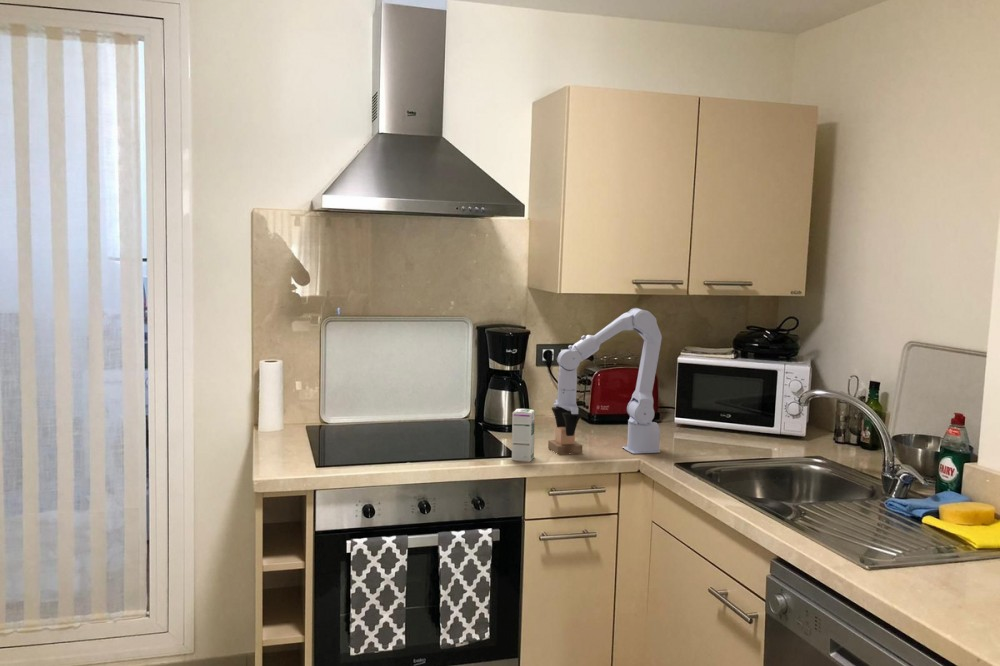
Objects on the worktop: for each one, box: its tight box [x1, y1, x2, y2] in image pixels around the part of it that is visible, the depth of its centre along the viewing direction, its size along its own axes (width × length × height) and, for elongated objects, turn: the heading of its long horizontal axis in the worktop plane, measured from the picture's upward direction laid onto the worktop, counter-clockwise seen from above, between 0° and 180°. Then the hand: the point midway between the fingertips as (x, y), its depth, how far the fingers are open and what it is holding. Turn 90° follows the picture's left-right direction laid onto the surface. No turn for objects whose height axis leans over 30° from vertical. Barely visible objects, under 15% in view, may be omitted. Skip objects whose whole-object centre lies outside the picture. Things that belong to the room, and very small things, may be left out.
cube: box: [554, 426, 576, 445], centre depth 256 cm, size 4×4×4 cm
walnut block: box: [547, 439, 583, 455], centre depth 256 cm, size 8×8×3 cm
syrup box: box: [511, 408, 536, 463], centre depth 244 cm, size 6×6×14 cm
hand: (565, 432), depth 256 cm, fingers open, 7 cm apart
